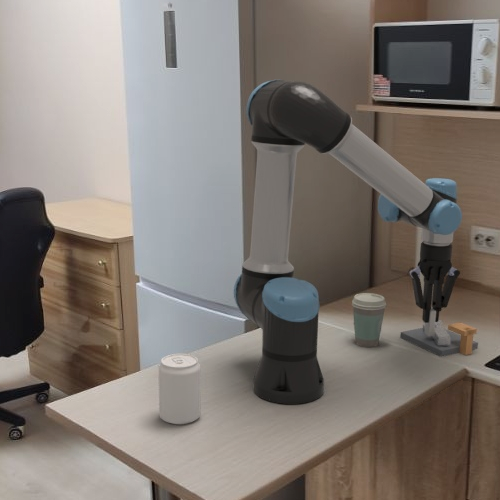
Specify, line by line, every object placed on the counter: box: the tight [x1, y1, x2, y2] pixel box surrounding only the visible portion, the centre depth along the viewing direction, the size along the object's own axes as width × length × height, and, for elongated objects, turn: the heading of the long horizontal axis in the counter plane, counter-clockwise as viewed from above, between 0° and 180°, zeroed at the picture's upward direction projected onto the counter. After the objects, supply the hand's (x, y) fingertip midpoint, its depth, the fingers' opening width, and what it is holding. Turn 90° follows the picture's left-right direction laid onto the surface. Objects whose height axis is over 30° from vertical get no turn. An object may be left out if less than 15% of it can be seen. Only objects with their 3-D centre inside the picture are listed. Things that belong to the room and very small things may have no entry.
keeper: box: [447, 322, 478, 356], centre depth 188 cm, size 4×6×6 cm
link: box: [422, 318, 451, 345], centre depth 194 cm, size 14×5×3 cm, turn 1°
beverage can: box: [158, 353, 202, 425], centre depth 150 cm, size 8×8×12 cm
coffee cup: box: [351, 292, 387, 348], centre depth 192 cm, size 8×8×12 cm
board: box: [399, 327, 479, 357], centre depth 194 cm, size 12×15×2 cm
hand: (429, 334), depth 192 cm, fingers closed
